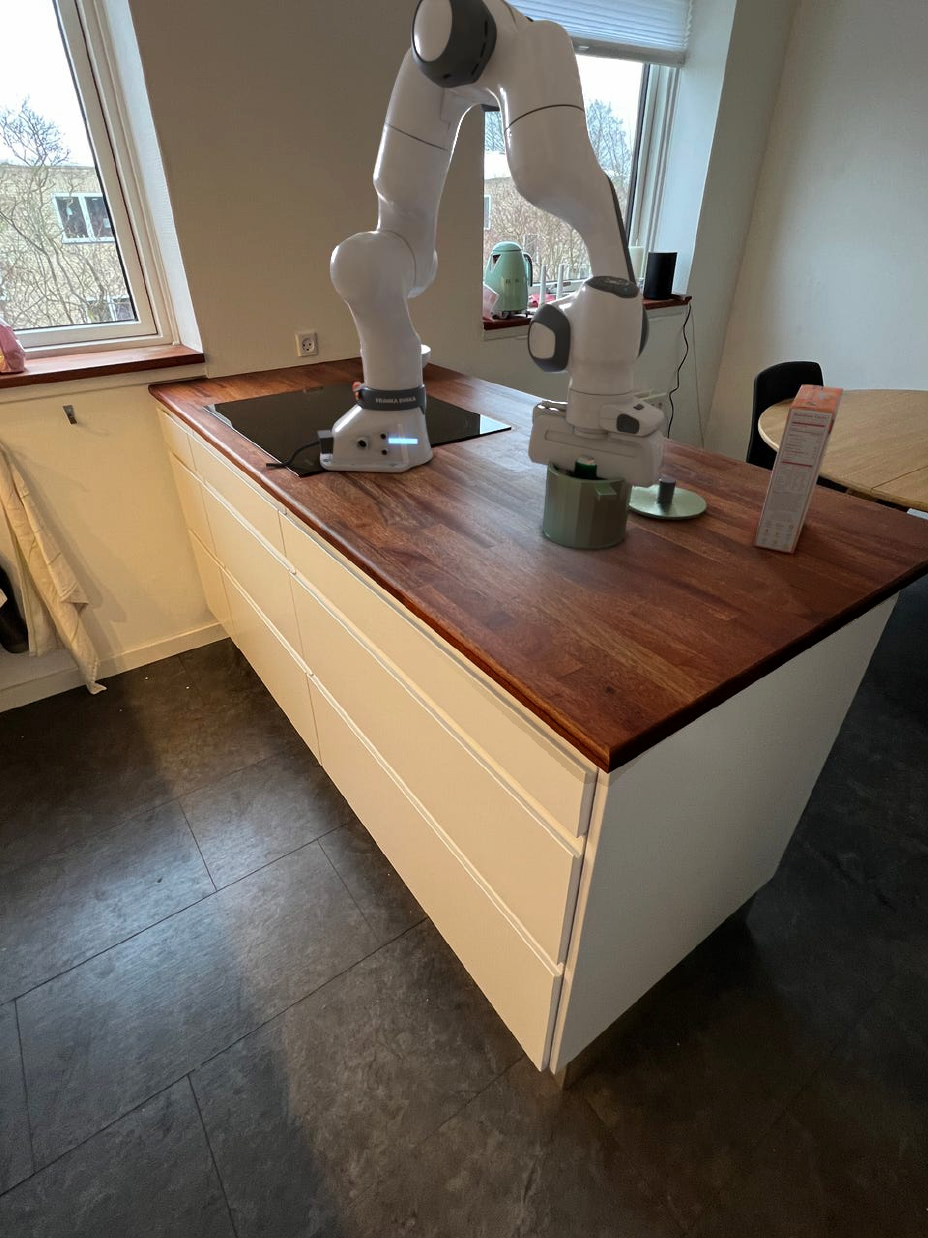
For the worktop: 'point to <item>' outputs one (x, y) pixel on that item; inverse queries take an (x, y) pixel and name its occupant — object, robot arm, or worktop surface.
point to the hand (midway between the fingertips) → (587, 501)
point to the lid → (666, 501)
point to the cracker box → (797, 466)
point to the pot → (585, 510)
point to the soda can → (586, 469)
